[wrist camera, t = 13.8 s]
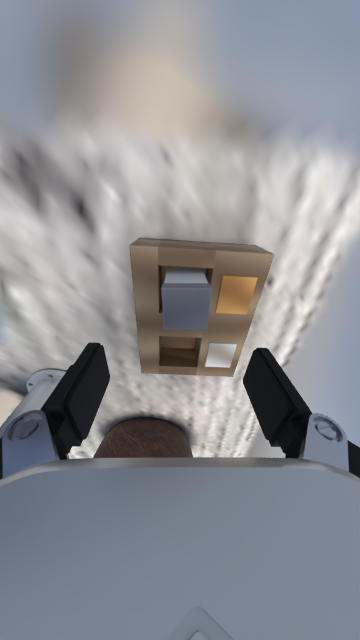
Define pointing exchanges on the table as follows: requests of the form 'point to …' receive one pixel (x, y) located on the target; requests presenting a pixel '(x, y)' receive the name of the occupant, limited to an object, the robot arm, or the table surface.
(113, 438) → the wooden bowl
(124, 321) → the table surface
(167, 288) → the plug
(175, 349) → the socket block
